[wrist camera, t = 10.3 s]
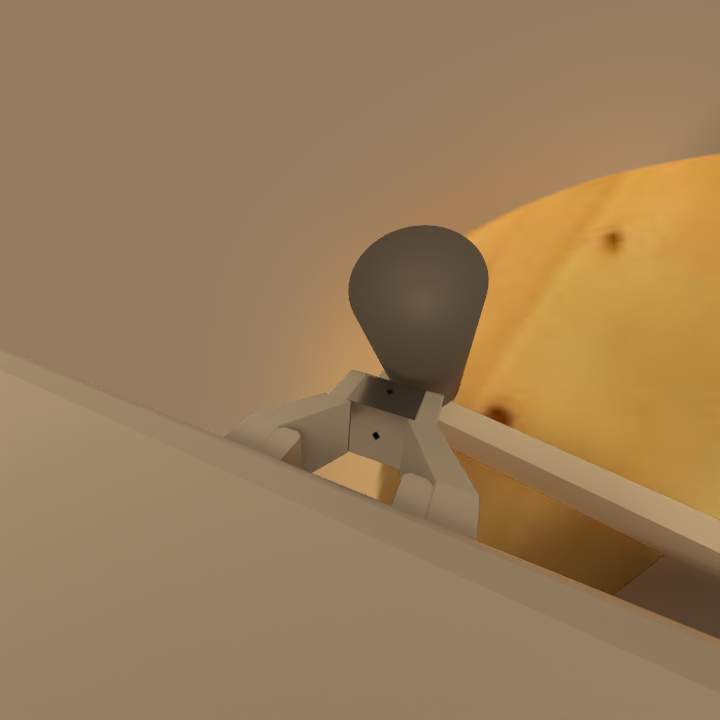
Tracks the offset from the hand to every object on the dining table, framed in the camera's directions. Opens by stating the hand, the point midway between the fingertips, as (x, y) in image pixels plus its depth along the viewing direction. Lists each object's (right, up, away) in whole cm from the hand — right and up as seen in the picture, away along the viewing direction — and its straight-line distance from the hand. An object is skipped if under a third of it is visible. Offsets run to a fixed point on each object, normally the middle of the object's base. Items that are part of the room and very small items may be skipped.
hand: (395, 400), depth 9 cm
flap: (+11, -7, +14) cm, 19 cm away
